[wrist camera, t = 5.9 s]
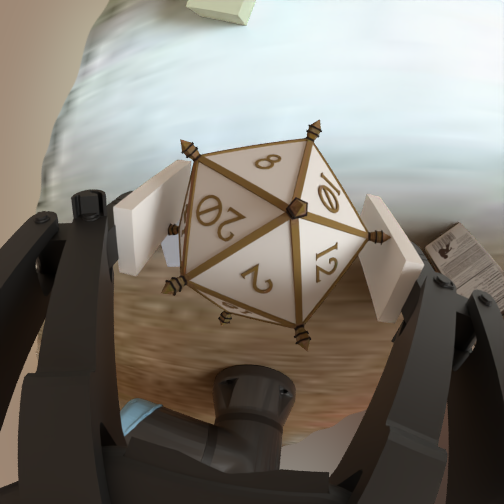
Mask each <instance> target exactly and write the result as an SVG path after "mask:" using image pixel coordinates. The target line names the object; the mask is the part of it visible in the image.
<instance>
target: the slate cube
mask: <svg viewBox="0 0 504 504" xmlns="http://www.w3.org/2000/svg"><path fill="white" fill-rule="evenodd" d="M179 223H180V219H179V221H178V222H177V223H176V225H177V226H179ZM161 246H162V249H163V252H164V256H165V259H166V263H167V266H168V267H176V266H180V257H179V238H178V234H177V235H170V236H169V235H167V236H166V237H165V239H164V240H163V241H162V243H161Z"/></svg>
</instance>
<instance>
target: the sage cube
mask: <svg viewBox="0 0 504 504" xmlns="http://www.w3.org/2000/svg"><path fill="white" fill-rule="evenodd" d="M255 2H256V0H188V2H187V4H186V7H187V8H189V9H190V10H192V11H193V12H195V13H196V14H198V15H199V16H201V17H206V18H212V19H217V20H222V21H227V22H232V23H236V24H241V25H245V26H246V25H247V23H248V20H249V17H250V15H251V12H252V10H253V7H254V5H255Z"/></svg>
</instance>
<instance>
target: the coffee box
mask: <svg viewBox="0 0 504 504" xmlns="http://www.w3.org/2000/svg"><path fill="white" fill-rule="evenodd" d="M425 251H426V253H427V255H428V256H429V258H430V260H431V262H432V264H433V266H434V268H435V270H436V272H438V273H441V274H443V275H445V276H446V277H448V278H449V279H450V280H451V281H453V283H454V284H455V286H456V289H457V294H459V295H461V296H464V297H466V298H468V299H469V297H470V295H471V294H472V292H473V291H474V290H476V289H478V290H482V291H484V292H487V293H488V294H490V295H491V296H492V298H493V299H494V300H495V302H496V303H497V305H498V307H499V310H500V312H501V314H502V317H503V319H504V271H503V270H502V269H501V268H500V266H499V265H498V264H497V263H496V262H495V260H494V259H493V258H492V257H491V256H490V254H489V253H488V252H487V251H486V250H485V249H484V248H483V246H482V245H481V244H480V243H479V242H478V241H477V240H476V239H475V237H474V236H473V235H472V234H471V233H470V232H469V231H468V230H467V229H466V228H465V227H464V226H463V225H462V224H461V223H458V224H457V225H455V226H454V227H453V228H451V229H450V230H448V231H447V232H446V233H444V234H443V235H441V236H440V237H438V238H437V239H436V240H434V241H433V242H431V243H430V244H428V245H427V246H426V247H425ZM475 345H476V342H475V344H474V346H475Z"/></svg>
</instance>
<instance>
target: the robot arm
mask: <svg viewBox="0 0 504 504" xmlns="http://www.w3.org/2000/svg"><path fill="white" fill-rule="evenodd" d="M190 169H191V161H184V160H176V161H175V162H173V163H172V164H171V165H169V166H168V167H166V168H165V169H163V170H162V171H161V172H159V173H158V174H156V175H155V176H154V177H152V178H151V179H149V180H148V181H147V182H145V183H144V184H143V185H141V186H140V187H139V188H137V189H136V190H135V191H129V192H127V193H124V194H122V195H120V196H119V197H118V198H116V200H114V201H112V202H111V203H110V204H108V205H107V206H106V194H105V192H103V191H102V190H85V191H81V192H78V193H76V194H74V195H73V196H72V197H71V200H72V209H73V217H74V219H73V222H72V223H59V224H58V218H57V214H56V213H54V212H50V211H47V212H46V211H42V212H38V213H37V214H35V215H33V216H32V217H30V218H29V219H28V220H27V221H26V222H25V223H24V224H23V225H22V226H21V227H20V228H19V229H18V230H17V231H16V232H15V233H14V235H12V237H11V238H10V239H9V240H8V241H7V242H6V243H5V244H4V245H3V246H2V248H1V249H0V431H1V428H2V425H3V422H4V419H5V416H6V412H7V409H8V406H9V403H10V401H11V398H12V395H13V392H14V389H15V387H16V383H17V381H18V379H19V376H20V374H21V371H22V369H23V366H24V364H25V361H26V359H27V356H28V354H29V352H30V350H31V347H32V345H33V343H34V341H35V339H36V336H37V334H38V332H39V330H40V328H41V326H42V324H43V322H44V320H45V324H44V329H43V334H42V340H41V346H40V352H39V359H38V367H37V371H36V373H28V374H27V375H26V376H25V377H24V380H23V384H22V391H21V401H20V412H19V429H18V478H19V481H17V482H14V483H12V484H9V485H7V486H4V487H2V488H0V504H434V503H435V499H436V497H437V494H438V491H439V487H440V484H441V481H442V477H443V474H444V470H445V466H446V462H447V452H446V450H445V449H442V448H440V447H438V441H439V436H440V432H441V428H442V423H443V419H444V414H445V408H446V403H447V404H448V426H449V463H448V484H447V496H446V504H504V319H503V317H502V314H501V312H500V310H499V307H498V305H497V303H496V302H495V300H494V299H493V298H492V296H491V295H490V294H488V293H487V292H484V291H482V290H478V289H476V290H474V291H473V292H472V294H471V295H470V297H469V299H468V298H466V297H464V296H461V295H459V294H457V289H456V286H455V284H454V283H453V281H451V280H450V279H449V278H448V277H446V276H445V275H443V274H441V273H438V272H435V271H434V270H433V268H432V266H431V265H430V263H429V262H428V261H427V258H426V257H425V256H424V254H423V252H422V251H421V249H420V248H419V247H418V246H417V245H416V244H415V243H413V242H411V241H410V240H409V239H408V237H407V236H406V234H405V233H404V231H403V230H402V228H401V227H400V225H399V224H398V222H397V221H396V219H395V218H394V216H393V215H392V213H391V212H390V210H389V209H388V208H387V206H386V205H385V203H384V202H383V201H382V199H381V198H380V197H378V196H374V195H370V194H367V195H366V199H365V202H364V205H363V209H362V212H361V215H360V218H361V219H362V221H363V223H364V225H365V227H366V228H367V230H368V232H374V231H375V230H377V231H381V230H383V232H384V233H386V234H387V235H389V236H390V237H391V238H390V239H388V240H387V241H385V242H383V243H382V245H381V243H376V244H375V243H374V242H372V241H368V242H367V243H366V245H365V246H364V248H363V249H362V250H361V252H360V253H359V255H358V256H359V259H360V262H361V265H362V268H363V271H364V275H365V278H366V281H367V284H368V288H369V291H370V295H371V298H372V302H373V305H374V309H375V312H376V316H377V320H378V321H382V322H389V323H395V322H396V320H397V318H398V317H399V315H400V313H401V312H402V314H403V317H404V320H403V322H402V324H401V325H400V327H399V329H398V331H397V332H396V334H395V336H394V337H393V339H392V341H391V342H393V343H394V344H393V347H392V350H391V353H390V355H389V358H388V361H387V363H386V366H385V369H384V371H383V374H382V376H381V378H380V381H379V383H378V386H377V388H376V390H375V393H374V395H373V397H372V400H371V402H370V404H369V406H368V408H367V411H366V413H365V415H364V417H363V419H362V421H361V423H360V425H359V428H358V429H357V432H356V433H355V436H354V437H353V439H352V441H351V443H350V445H349V447H348V449H347V451H346V452H345V454H344V456H343V458H342V460H341V461H340V463H339V465H338V467H337V468H336V470H335V471H334V472H333V474H332V475H331V476H330V477H329V472H310V471H294V470H283V469H281V470H279V467H280V456H281V445H282V433H283V426H284V424H285V422H286V420H287V418H288V416H289V413H290V411H291V409H292V407H293V405H294V402H295V391H296V389H295V385H294V383H293V382H292V381H291V380H290V379H289V378H288V377H287V376H286V375H284V374H282V373H281V372H278V371H276V370H274V369H271V368H267V367H262V366H255V365H240V366H234V367H230V368H227V369H225V370H223V371H221V372H220V373H219V374H218V375H217V376H216V378H215V382H214V385H213V400H214V408H215V415H216V418H215V423H214V425H213V424H210V423H207V422H204V421H201V420H198V419H195V418H192V417H190V416H187V415H184V414H181V413H179V412H176V411H173V410H171V409H168V408H166V407H163V405H161V404H155V403H153V402H150V401H147V400H144V399H141V398H135V399H132V400H130V401H129V402H128V403H127V404H126V405H125V406H124V407H123V408H122V410H121V411H120V408H119V400H118V390H117V379H116V365H115V348H114V308H113V301H114V272H113V265H114V264H115V262H116V261H117V260H118V264H119V272H121V273H125V274H129V275H134V276H137V275H138V274H139V272H140V271H141V269H142V268H143V267H144V265H145V264H146V263H147V261H148V260H149V259H150V257H151V256H152V255H153V253H154V252H155V251H156V249H157V248H158V247H159V245H160V244H161V243H162V241H163V240H164V239H165V237H166V236H167V235H168V227H169V225H170V223H171V224H172V225H174V224H176V223H177V222H178V221H179V219H180V218H181V213H182V209H183V205H184V200H185V196H186V192H187V187H188V183H189V179H190ZM36 264H37V269H36V266H35V265H36ZM45 318H46V319H45ZM394 341H395V342H394ZM475 342H476V345H475V348H474V349H473V351H472V346H473V345H474V344H475Z"/></svg>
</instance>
